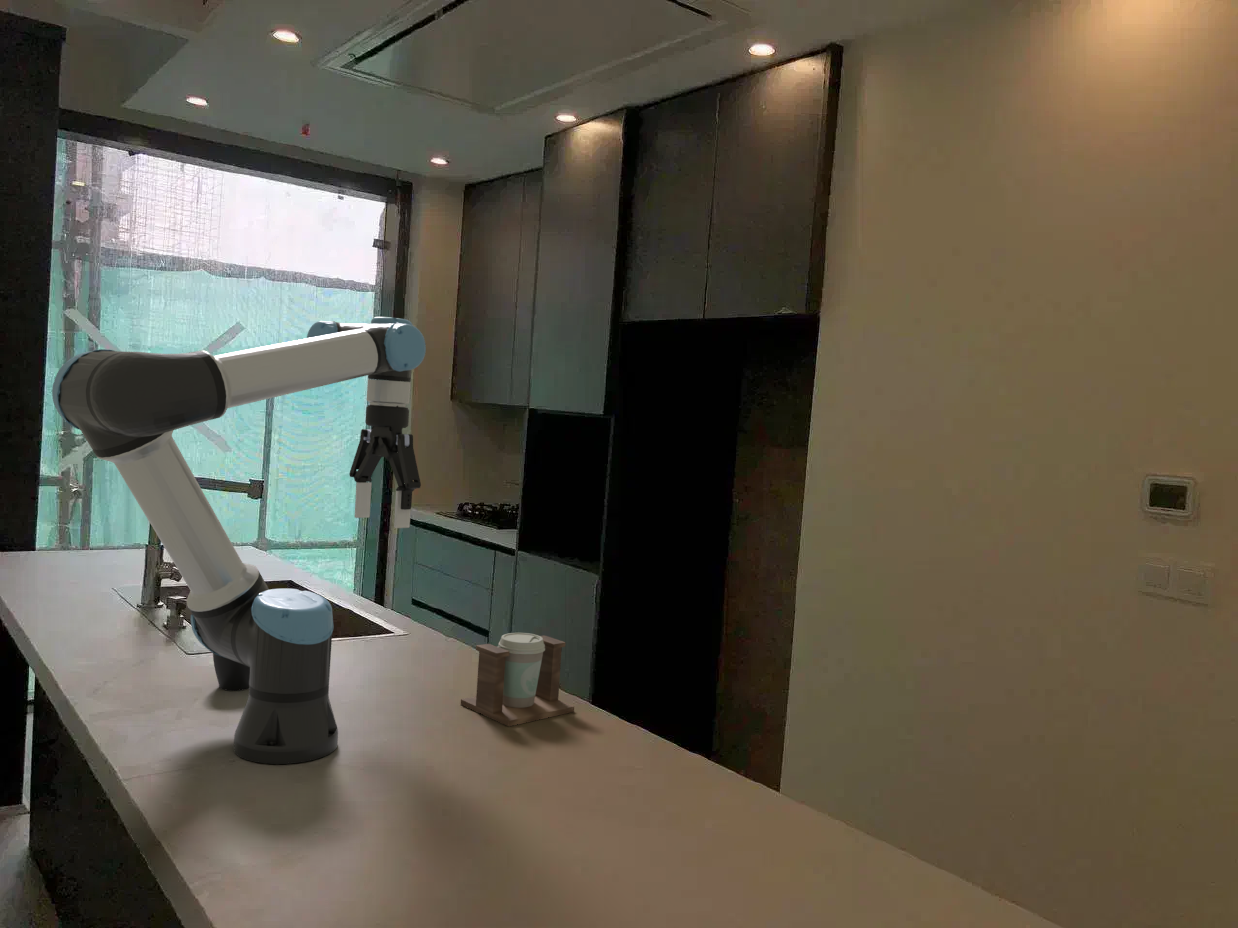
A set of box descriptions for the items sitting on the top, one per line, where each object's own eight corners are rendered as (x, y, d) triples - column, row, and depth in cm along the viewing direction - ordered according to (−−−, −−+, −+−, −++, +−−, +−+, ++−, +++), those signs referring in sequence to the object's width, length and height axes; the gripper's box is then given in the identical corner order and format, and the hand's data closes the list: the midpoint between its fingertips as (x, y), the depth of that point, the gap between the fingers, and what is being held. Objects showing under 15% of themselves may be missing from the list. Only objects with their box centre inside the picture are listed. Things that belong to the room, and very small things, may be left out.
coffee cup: (518, 713, 170) (523, 645, 170) (484, 701, 175) (488, 636, 175) (551, 703, 177) (555, 638, 176) (516, 692, 182) (520, 629, 182)
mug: (287, 685, 180) (289, 634, 180) (223, 695, 172) (225, 642, 171) (266, 674, 186) (268, 625, 186) (203, 684, 177) (205, 632, 177)
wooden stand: (506, 726, 166) (511, 658, 165) (458, 704, 176) (462, 640, 175) (575, 711, 177) (580, 647, 176) (526, 691, 187) (531, 630, 186)
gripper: (445, 409, 169) (438, 531, 170) (370, 402, 186) (364, 513, 188) (407, 407, 163) (400, 533, 165) (334, 400, 181) (328, 514, 182)
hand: (381, 522), depth 176 cm, fingers open, 13 cm apart
